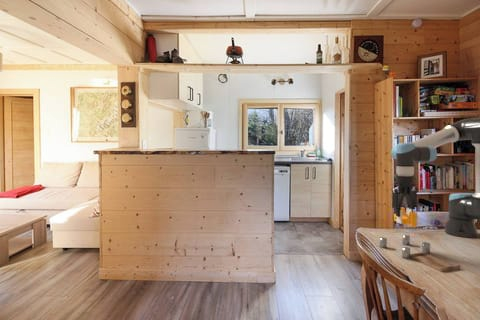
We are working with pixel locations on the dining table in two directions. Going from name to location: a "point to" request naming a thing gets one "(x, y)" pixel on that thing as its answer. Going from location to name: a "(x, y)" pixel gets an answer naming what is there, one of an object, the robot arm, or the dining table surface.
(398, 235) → the dining table surface
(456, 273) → the dining table surface
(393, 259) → the dining table surface
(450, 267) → the board
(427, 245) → the spacers
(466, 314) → the dining table surface
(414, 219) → the pipe clamp
